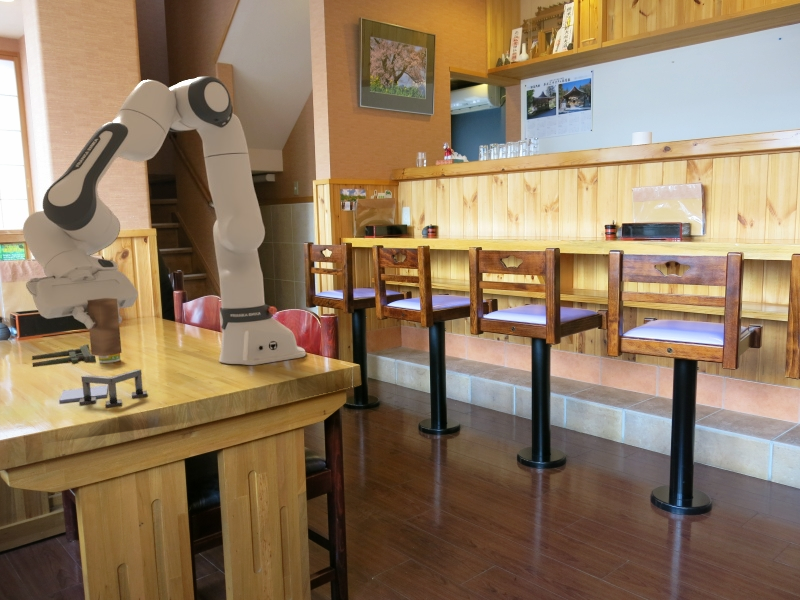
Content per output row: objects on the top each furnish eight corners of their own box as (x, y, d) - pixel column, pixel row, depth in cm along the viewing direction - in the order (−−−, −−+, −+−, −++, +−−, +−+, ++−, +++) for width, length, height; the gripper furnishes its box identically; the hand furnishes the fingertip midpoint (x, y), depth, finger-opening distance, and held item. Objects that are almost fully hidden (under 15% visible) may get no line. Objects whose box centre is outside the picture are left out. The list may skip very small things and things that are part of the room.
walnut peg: (109, 351, 135) (104, 298, 134) (121, 352, 133) (117, 298, 132) (91, 354, 132) (86, 300, 131) (103, 356, 130) (98, 301, 129)
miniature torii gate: (31, 352, 190) (88, 344, 197) (32, 360, 191) (89, 351, 198) (32, 365, 171) (95, 355, 179) (33, 374, 172) (96, 363, 179)
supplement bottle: (112, 363, 175) (109, 327, 174) (94, 363, 177) (91, 327, 175) (124, 359, 181) (121, 324, 180) (107, 359, 182) (104, 324, 181)
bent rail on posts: (146, 393, 142) (144, 367, 142) (148, 402, 135) (145, 375, 134) (80, 401, 137) (77, 375, 137) (77, 411, 130) (75, 383, 129)
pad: (107, 387, 148) (107, 385, 148) (106, 397, 140) (106, 394, 140) (63, 393, 145) (63, 390, 145) (59, 403, 137) (59, 400, 137)
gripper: (27, 268, 126) (61, 321, 121) (122, 260, 143) (154, 307, 139) (17, 290, 128) (49, 343, 124) (111, 280, 146) (143, 327, 142)
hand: (106, 324), depth 132 cm, fingers closed on walnut peg, 4 cm apart
